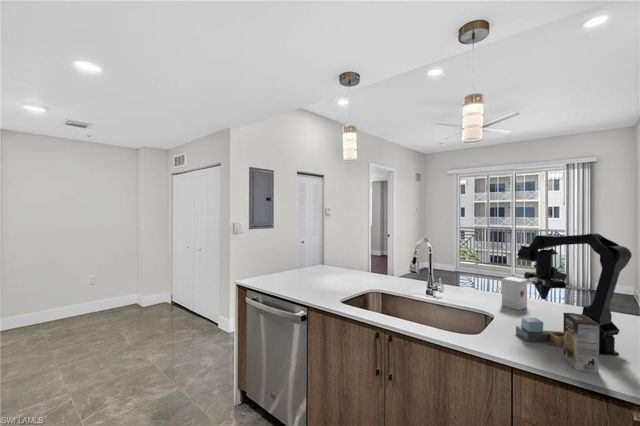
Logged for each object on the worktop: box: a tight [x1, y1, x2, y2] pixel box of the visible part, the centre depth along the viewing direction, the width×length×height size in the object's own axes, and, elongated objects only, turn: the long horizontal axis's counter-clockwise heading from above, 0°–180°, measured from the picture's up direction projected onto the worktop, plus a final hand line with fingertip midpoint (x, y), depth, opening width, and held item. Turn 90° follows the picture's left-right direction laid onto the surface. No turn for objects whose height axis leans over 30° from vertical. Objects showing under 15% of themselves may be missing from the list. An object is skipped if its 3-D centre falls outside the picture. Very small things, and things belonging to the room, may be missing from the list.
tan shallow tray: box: [543, 330, 564, 348], centre depth 119 cm, size 7×7×3 cm
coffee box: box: [562, 312, 600, 374], centre depth 102 cm, size 9×6×16 cm
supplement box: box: [501, 276, 528, 311], centre depth 162 cm, size 9×9×15 cm
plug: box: [520, 316, 544, 332], centre depth 123 cm, size 5×6×8 cm
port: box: [515, 325, 550, 343], centre depth 123 cm, size 8×8×3 cm
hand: (543, 299), depth 132 cm, fingers closed
